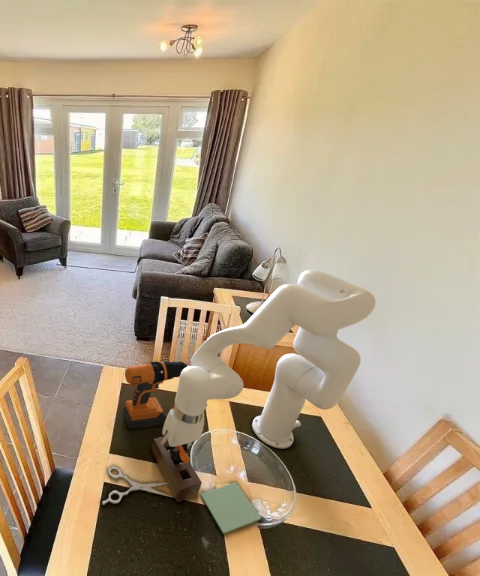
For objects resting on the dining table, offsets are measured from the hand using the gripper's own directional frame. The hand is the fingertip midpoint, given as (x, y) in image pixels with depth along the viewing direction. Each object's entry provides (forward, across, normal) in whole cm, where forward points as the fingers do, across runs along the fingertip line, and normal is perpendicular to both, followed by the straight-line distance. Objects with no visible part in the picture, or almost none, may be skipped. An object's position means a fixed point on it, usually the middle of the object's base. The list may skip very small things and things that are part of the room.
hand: (177, 454), depth 90 cm
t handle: (+8, 0, 0) cm, 8 cm away
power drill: (+8, -2, -20) cm, 22 cm away
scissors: (+9, +12, +1) cm, 15 cm away
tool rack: (+8, 0, 0) cm, 8 cm away
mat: (+8, -10, +13) cm, 18 cm away
